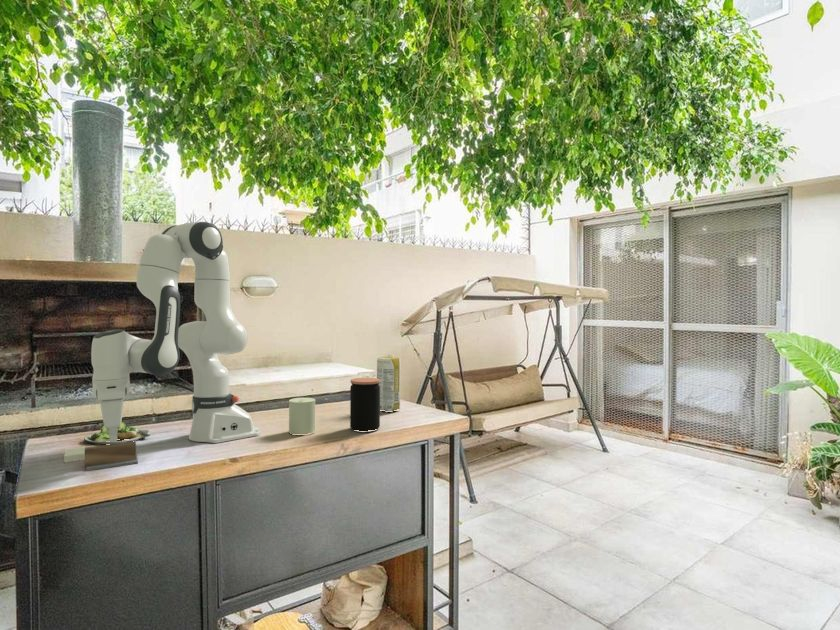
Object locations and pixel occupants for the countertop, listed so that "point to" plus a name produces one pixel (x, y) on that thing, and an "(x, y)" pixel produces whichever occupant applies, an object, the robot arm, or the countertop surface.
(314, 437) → the countertop surface
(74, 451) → the tile
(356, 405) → the coffee jar
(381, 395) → the juice carton
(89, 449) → the brown long block
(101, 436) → the plate of avocado toast
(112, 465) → the pad
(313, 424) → the can
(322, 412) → the countertop surface
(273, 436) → the countertop surface
